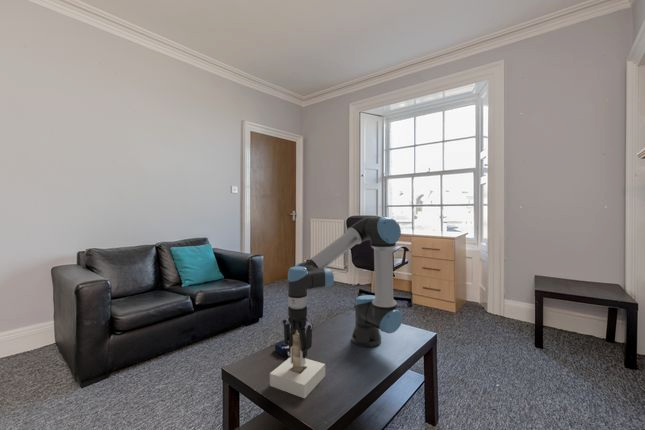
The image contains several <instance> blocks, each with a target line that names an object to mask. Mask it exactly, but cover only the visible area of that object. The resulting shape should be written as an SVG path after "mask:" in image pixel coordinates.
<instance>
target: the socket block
mask: <svg viewBox="0 0 645 430" xmlns="http://www.w3.org/2000/svg"><path fill="white" fill-rule="evenodd" d="M325 377H326V363H323V362H319V361H315V360H313V359H309V358H306V364H305V365H304V366H303V372H302V373H301V374H299V373H296V372H293V364H291V356H289V357H288V358H287V359H286V360H284V361H283V362H282V363H281V364H280V365H279V366H276V368H275V369H274V370H272V371H271V372H269V386H270V387H272V388H275V389H278V390H280V391H283V392H285V393H286V392H287V393H289V394H292V395H293V396H294V395H295V396H297V397H300V398H302V399H306V397H307V396H309V395H310V393H311V392H312V391H313V390H314V389H315V388H316V387H317V386H318V384H319V383H320V382H321V381H323V379H324V378H325Z"/></svg>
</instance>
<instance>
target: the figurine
mask: <svg viewBox="0 0 645 430" xmlns="http://www.w3.org/2000/svg"><path fill="white" fill-rule="evenodd" d="M274 350H275V351H276V353H278V354H279V355H281V356H282V357H286V356H288V357H291V354H289V346H288V345H287V344H285V340H282V341H279V342H277V343H276V344H275V346H274Z"/></svg>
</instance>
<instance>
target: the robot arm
mask: <svg viewBox="0 0 645 430" xmlns="http://www.w3.org/2000/svg"><path fill="white" fill-rule="evenodd" d="M401 235H402V231H401V226H400V224H399V223H398V222H397V221H396V219H394V218H392V217H386V216H367V217H364V218H362V219H360V220H358V221H356V222H355V223H354V224H352V225H351V226H350V227H348V228H347V231H346V232H345V233H344V234H342V235H341V236H340V237H338V238H337V239H336V240H334V241H333V242H331V243H330V244H329V245H327V246H326V247H324V248H323V249H322V250H320V251H319V252H318V253H316V254H315V255H313V256H312V257H311V258H310V259H308V260H307V261H305V262H299V263H297V264H296V265H295V266H292V267H289V269H288V272H287V296H288V297H287V304H288V307H287V312H288V313H287V314H288V315H287V316H288V317H285V319H283V320H282V324H283V334H284V341H285V344H287V345H288V346H289V354H291V356H290V357H291V364H293V334H294V333H296V332H298V333H299V335H300V341H301V347H302V349H301V350H300V367H302V366H304V365H305V364H306V359H307V358H308V357H307V356H308V351H309V350H310V349H311V348H312V345H313V343H312V342H313V328H314V323H309V320H308V318H307V317H308V307H307V306H308V291H309V290H315V289H322V288H328V287H330V286H332V285H333V284H334V281H335V279H334V278H335V276H334V273H333V271H332V269H330V268H327V267H328V266H330V265H331V264H332V263H334V262H335V261H336V260H337V259H339V258H340V257H342V256H343V255H344V254H346V252H348V251H349V250H350V249H352V248H353V247H354V246H356V245H360V244H362V243H363V242H365V241H370V247H371V248H372V249H373V262H374V263H373V264H374V269H373V270H374V295H372V294H367V295H365V294H364V295H359V296H356V297H355V300H354V301H355V302H354V315H355V316H354V319H355V320H354V322H355V323H354V328H353V332H352V334H351V341H352V343H354V344H355V345H356V346H359V347H364V348H365V347H366V348H373V347H376V346H379V345H381V343H382V335H381V332H382V333H383V332H384V333H386V334H394V333H395V332H397V331H398V330H399V328H400V327H401V325H402V324H403V323H402V322H403V313H402V312H401V311H400V310H399V309H398V303H397V300H395V299H394V266H393V265H394V263H393V262H394V261H393V258H394V257H393V255H394V254H393V249H394V248H395V247H396V245H397V244H396V243H397V242H399V240H400V239H401V238H400V237H401ZM380 331H381V332H380Z"/></svg>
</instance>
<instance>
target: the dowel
mask: <svg viewBox="0 0 645 430" xmlns="http://www.w3.org/2000/svg"><path fill="white" fill-rule="evenodd" d="M301 349H302V347H301V341H300V335H299V333H298V331H296V333H294V334H293V372H296V373H299V374H301V373H302V372H303V366H302V367H300V350H301Z"/></svg>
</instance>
